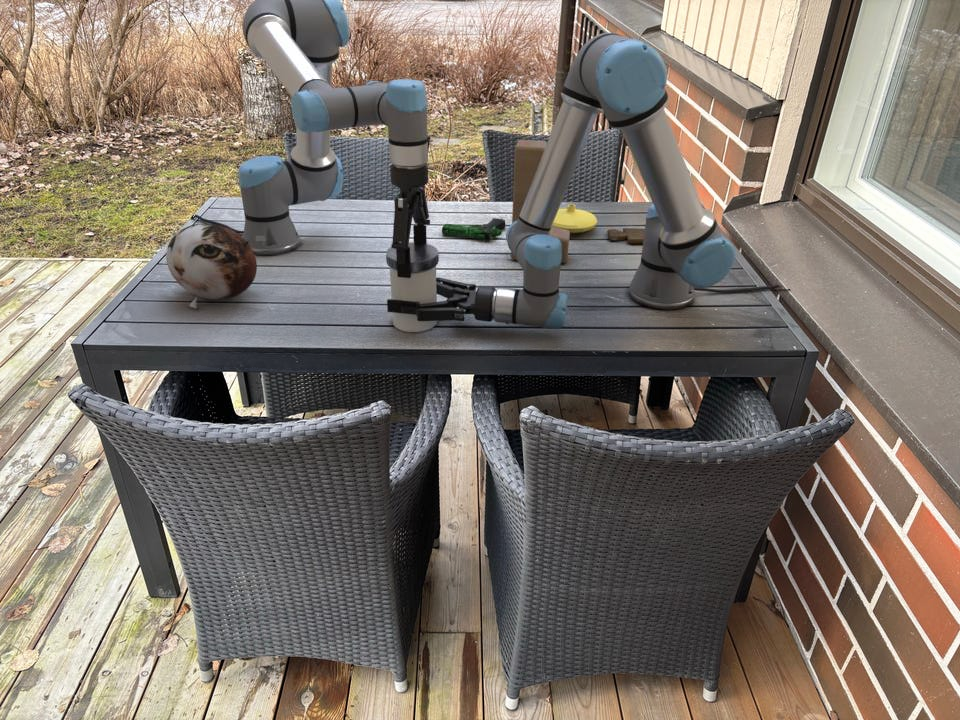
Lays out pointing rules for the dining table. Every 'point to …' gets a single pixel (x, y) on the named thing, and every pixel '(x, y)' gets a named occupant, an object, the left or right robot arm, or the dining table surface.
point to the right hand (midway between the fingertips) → (394, 295)
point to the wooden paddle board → (627, 235)
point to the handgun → (476, 230)
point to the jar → (413, 297)
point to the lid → (416, 257)
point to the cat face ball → (211, 261)
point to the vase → (574, 220)
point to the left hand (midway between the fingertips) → (412, 265)
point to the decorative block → (524, 172)
